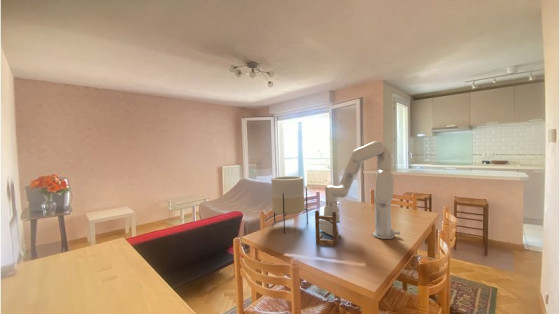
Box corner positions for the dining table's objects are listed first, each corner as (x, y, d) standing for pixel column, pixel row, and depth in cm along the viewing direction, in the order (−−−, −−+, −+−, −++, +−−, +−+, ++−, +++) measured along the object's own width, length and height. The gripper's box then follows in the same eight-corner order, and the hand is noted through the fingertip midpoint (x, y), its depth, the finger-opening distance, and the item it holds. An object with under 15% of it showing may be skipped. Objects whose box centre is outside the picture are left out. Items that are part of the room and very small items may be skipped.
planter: (293, 235, 152) (292, 180, 151) (261, 229, 166) (259, 179, 165) (310, 224, 174) (308, 176, 174) (280, 219, 188) (278, 175, 188)
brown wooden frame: (339, 239, 141) (338, 207, 141) (337, 246, 131) (336, 212, 131) (319, 237, 146) (318, 206, 145) (315, 244, 135) (314, 210, 135)
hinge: (341, 237, 145) (339, 222, 145) (335, 239, 143) (333, 224, 143) (325, 229, 160) (323, 216, 160) (319, 231, 158) (318, 217, 158)
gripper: (343, 203, 157) (343, 229, 157) (321, 202, 162) (322, 228, 162) (342, 205, 150) (342, 233, 150) (319, 204, 155) (320, 231, 155)
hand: (332, 230), depth 156 cm, fingers closed
